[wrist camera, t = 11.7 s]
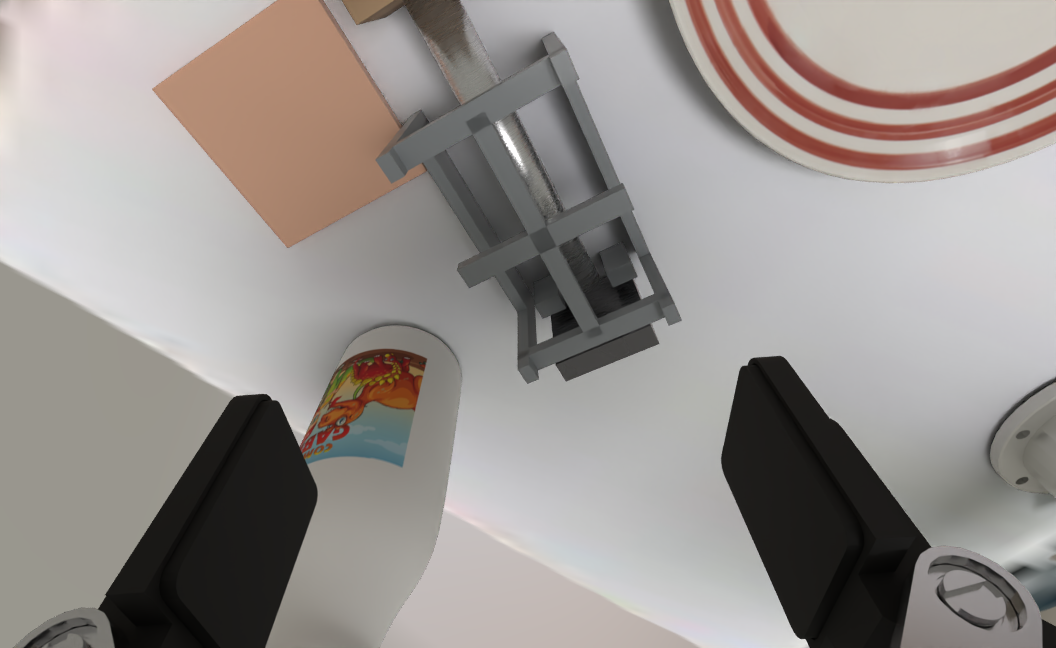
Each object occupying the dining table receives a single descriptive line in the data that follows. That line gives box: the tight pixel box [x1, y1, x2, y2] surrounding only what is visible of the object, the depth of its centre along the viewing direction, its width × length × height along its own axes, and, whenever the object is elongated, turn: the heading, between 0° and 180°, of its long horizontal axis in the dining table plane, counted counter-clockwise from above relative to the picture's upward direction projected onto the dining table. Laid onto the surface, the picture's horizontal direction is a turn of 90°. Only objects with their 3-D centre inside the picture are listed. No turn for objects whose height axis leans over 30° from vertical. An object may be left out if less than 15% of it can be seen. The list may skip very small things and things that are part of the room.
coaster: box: [152, 0, 427, 248], centre depth 25 cm, size 9×9×1 cm
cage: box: [375, 32, 682, 384], centre depth 24 cm, size 12×8×8 cm, turn 27°
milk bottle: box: [265, 325, 462, 648], centre depth 25 cm, size 8×8×20 cm
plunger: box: [403, 0, 659, 381], centre depth 24 cm, size 18×5×6 cm, turn 27°
